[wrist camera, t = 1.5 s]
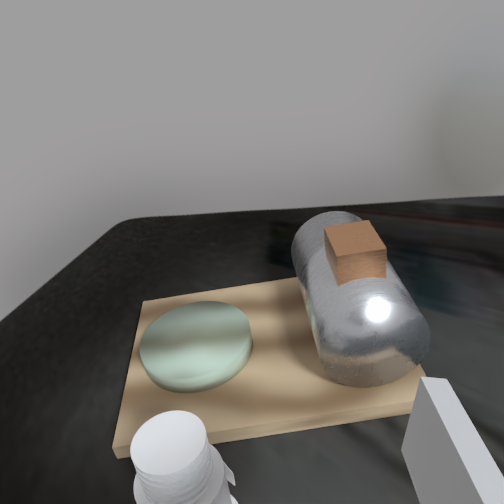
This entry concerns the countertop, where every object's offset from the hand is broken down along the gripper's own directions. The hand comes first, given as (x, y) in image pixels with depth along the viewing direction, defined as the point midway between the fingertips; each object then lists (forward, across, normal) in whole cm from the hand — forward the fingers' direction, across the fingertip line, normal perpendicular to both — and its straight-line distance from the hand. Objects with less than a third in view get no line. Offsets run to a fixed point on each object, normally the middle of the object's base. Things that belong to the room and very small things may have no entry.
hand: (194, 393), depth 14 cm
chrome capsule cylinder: (+30, +12, -14) cm, 36 cm away
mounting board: (+29, +4, -18) cm, 34 cm away
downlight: (+12, -1, -22) cm, 25 cm away
